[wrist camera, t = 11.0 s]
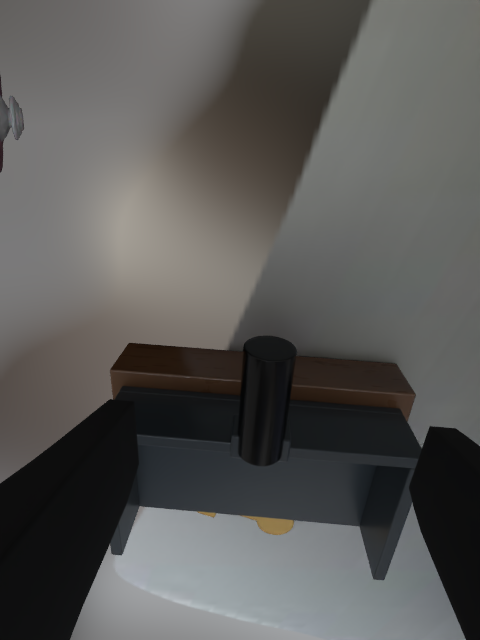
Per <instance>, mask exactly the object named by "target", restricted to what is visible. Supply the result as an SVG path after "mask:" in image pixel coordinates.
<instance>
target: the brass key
mask: <svg viewBox="0 0 480 640" xmlns="http://www.w3.org/2000/svg"><path fill="white" fill-rule="evenodd" d="M197 512H198V511H197ZM198 513H201V514H204V515H207V516H210V517H215V515H216V513H209V512H198ZM240 516H242V515H240ZM243 517H246V518H250V519H253V520H257V524H258V526H259V528H260V529H261V530H262V531H264V532H266V533H268V534H273V535H281V534H285V533H287V532H289V531H290V530H291V529H292V527H293V525H294V520H286V519H275V518H264V517H253V516H243Z"/></svg>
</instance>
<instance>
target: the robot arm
mask: <svg viewBox="0 0 480 640" xmlns="http://www.w3.org/2000/svg"><path fill="white" fill-rule="evenodd" d="M138 465H139V456H138V443H137V431H136V418H135V406H134V401H124V400H112V399H110V400H108V401H107V402H106V403H105V404H104V405H102V406H101V407H100V408H98V409H97V410H96V411H95V412H93V413H92V414H91V415H90V416H89V417H87V418H86V419H85V420H83V421H82V422H81V423H80V424H78V425H77V426H76V427H75V428H73V429H72V430H71V431H70V432H68V433H67V434H66V435H65V436H64V437H62V438H61V439H60V440H58V441H57V442H56V443H54V444H53V445H52V446H51V447H50V448H48V449H47V450H45V451H44V452H43V453H42V454H40V455H39V456H38V457H36V458H35V459H34V460H32V461H31V462H30V463H28V464H27V465H25V466H24V467H23V468H21V469H20V470H19V471H17V472H16V473H14V474H13V475H12V476H10V477H9V478H7V479H6V480H5V481H3V482H2V483H0V640H70V638H71V635H72V632H73V630H74V627H75V625H76V622H77V619H78V617H79V614H80V612H81V609H82V606H83V604H84V602H85V599H86V597H87V595H88V593H89V590H90V588H91V586H92V583H93V581H94V579H95V577H96V574H97V572H98V569H99V567H100V565H101V563H102V561H103V558H104V556H105V554H106V551H107V549H108V547H109V544H110V542H111V540H112V538H113V535H114V533H115V530H116V528H117V526H118V523H119V521H120V519H121V516H122V514H123V512H124V509H125V507H126V505H127V502H128V498H129V495H130V492H131V489H132V486H133V482H134V479H135V476H136V472H137V469H138ZM409 491H410V495H411V498H412V502H413V506H414V510H415V513H416V516H417V520H418V523H419V526H420V530H421V533H422V535H423V538H424V540H425V543H426V545H427V547H428V550H429V552H430V555H431V557H432V560H433V562H434V564H435V567H436V569H437V572H438V574H439V576H440V579H441V581H442V584H443V586H444V588H445V591H446V593H447V595H448V598H449V600H450V603H451V605H452V607H453V610H454V612H455V614H456V617H457V619H458V622H459V624H460V626H461V629H462V631H463V633H464V636H465V638H466V640H480V446H478V445H477V444H476V443H475V442H473V441H472V440H471V439H469V438H468V437H467V436H465V435H464V434H463V433H461V432H460V431H459V430H457V429H456V428H444V427H432V426H430V427H429V430H428V433H427V436H426V439H425V442H424V445H423V447H422V450H421V453H420V456H419V459H418V462H417V465H416V468H415V471H414V473H413V476H412V479H411V482H410V485H409Z"/></svg>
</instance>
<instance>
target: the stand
mask: <svg viewBox="0 0 480 640" xmlns="http://www.w3.org/2000/svg"><path fill="white" fill-rule="evenodd" d="M242 361H243V352H239V351H226V350H214V349H201V348H188V347H175V346H162V345H149V344H136V343H129V344H128V345H127V347H126V348H125V349H124V351H123V352H122V354H121V355H120V356H119V358H118V359H117V361H116V362H115V364H114V365H113V367H112V368H111V370H110V374H111V384H112V392H113V400H114V399H115V397H116V396H117V394H118V392H119V391H120V389H121V387H122V386H130V387H142V388H155V389H167V390H179V391H191V392H203V393H216V394H228V395H240V389H241V375H242ZM415 396H416V395H415V393H414V391H413V389H412V388H411V386H410V385H409V383H408V381H407V380H406V378H405V377H404V375H403V373H402V372H401V370H400V369H399V367H398V365H397V364H392V363H379V362H366V361H354V360H341V359H328V358H315V357H303V356H296V362H295V370H294V377H293V384H292V391H291V398H290V400H301V401H313V402H326V403H338V404H350V405H362V406H374V407H387V408H399V409H401V411H402V413H403V415H404V417H405V419H406V421H408V418H409V415H410V412H411V409H412V405H413V402H414V399H415Z"/></svg>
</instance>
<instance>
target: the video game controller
mask: <svg viewBox="0 0 480 640" xmlns="http://www.w3.org/2000/svg"><path fill="white" fill-rule="evenodd" d="M9 102H10V108H7V106H6V104H5V102H4V101H3V99H2V90H1V77H0V172H1V171H2V167H3V141H4V138H5V137H6V136H7V134H8V132H9V129H10V128H11V127H12V130H13V133H14V137H15V139H16V140H18V138H19V137H20V135H21V133H22V131H23V130H24V124H23V115H22V110H21V108H19V105H18V103H17V102H16V100H15V99H14V97H13V96H10V98H9Z"/></svg>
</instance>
